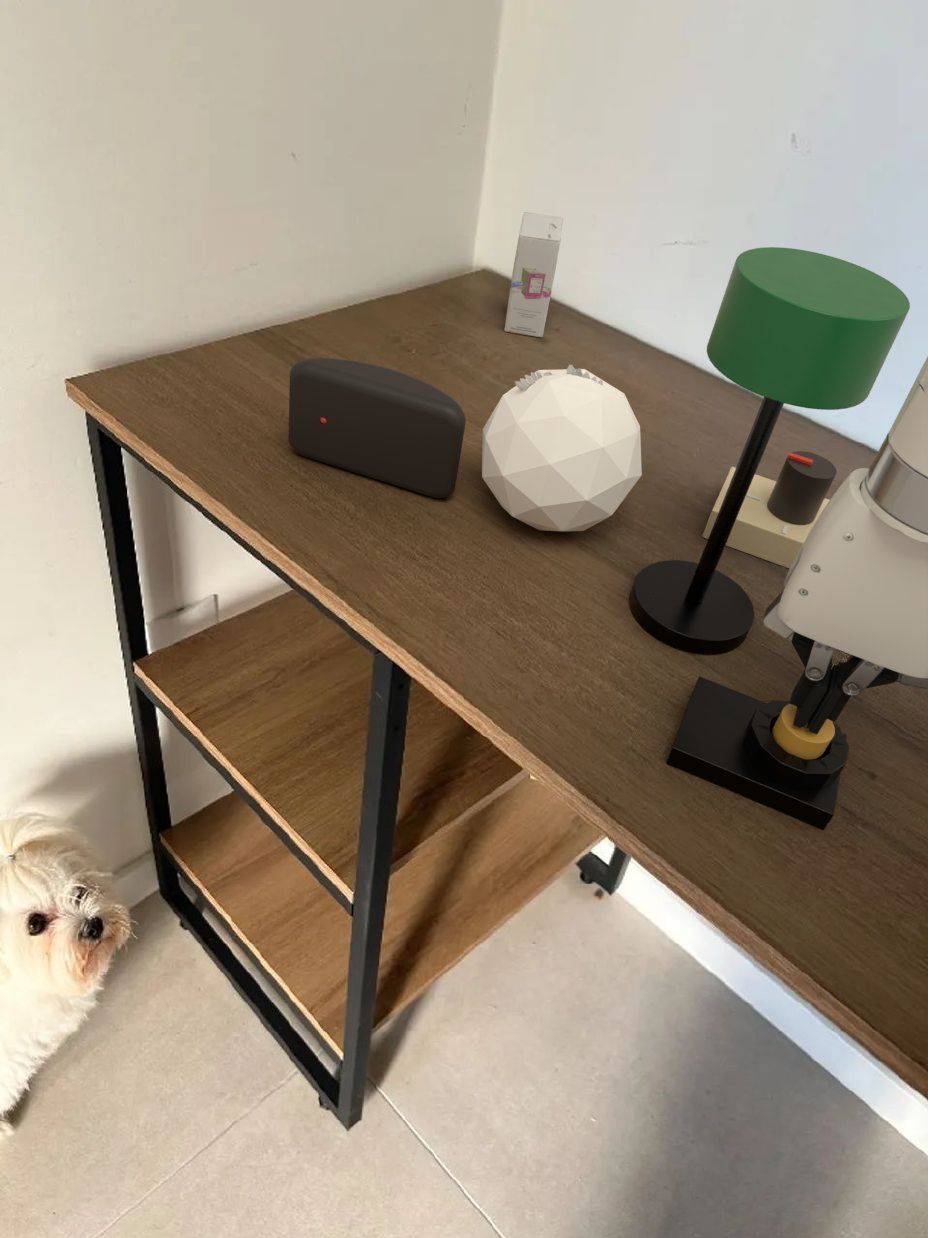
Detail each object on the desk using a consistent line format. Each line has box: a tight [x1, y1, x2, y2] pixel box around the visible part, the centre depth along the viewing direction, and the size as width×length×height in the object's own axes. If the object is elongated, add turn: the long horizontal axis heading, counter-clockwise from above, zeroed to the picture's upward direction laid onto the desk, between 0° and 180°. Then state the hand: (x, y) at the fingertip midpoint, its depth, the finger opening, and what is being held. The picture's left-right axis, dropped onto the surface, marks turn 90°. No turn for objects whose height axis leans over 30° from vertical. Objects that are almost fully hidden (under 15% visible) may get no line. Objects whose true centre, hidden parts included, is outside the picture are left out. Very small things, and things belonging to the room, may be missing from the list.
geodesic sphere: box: [481, 364, 643, 532], centre depth 80 cm, size 15×14×14 cm
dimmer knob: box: [767, 450, 837, 525], centre depth 84 cm, size 4×4×5 cm
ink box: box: [503, 212, 564, 338], centre depth 112 cm, size 9×5×12 cm, turn 174°
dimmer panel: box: [701, 466, 830, 570], centre depth 86 cm, size 13×9×3 cm
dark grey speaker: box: [287, 357, 467, 499], centre depth 83 cm, size 16×5×9 cm, turn 71°
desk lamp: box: [628, 246, 911, 656], centre depth 68 cm, size 11×11×28 cm
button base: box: [666, 675, 850, 831], centre depth 65 cm, size 11×8×4 cm
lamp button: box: [773, 704, 835, 759], centre depth 63 cm, size 4×4×2 cm
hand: (807, 716), depth 62 cm, fingers closed
